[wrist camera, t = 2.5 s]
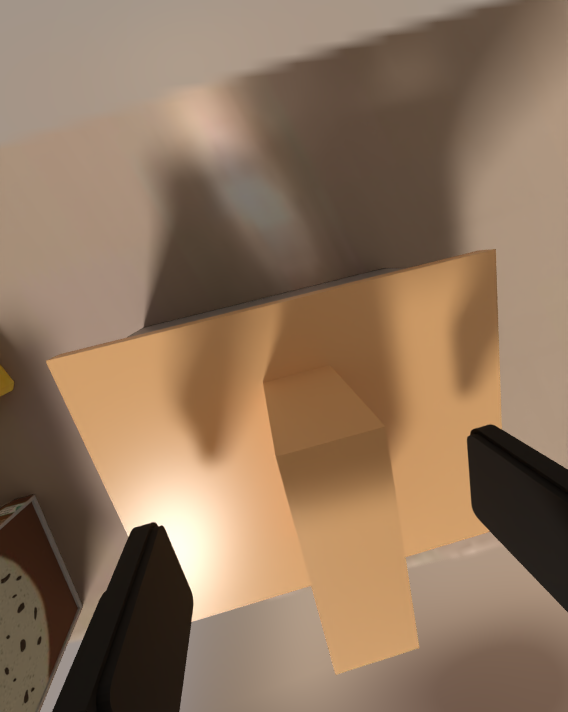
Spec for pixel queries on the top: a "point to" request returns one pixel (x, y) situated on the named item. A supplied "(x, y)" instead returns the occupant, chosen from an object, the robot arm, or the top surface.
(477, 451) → the robot arm
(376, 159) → the top surface
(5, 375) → the dish sponge
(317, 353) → the lid
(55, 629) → the food container
